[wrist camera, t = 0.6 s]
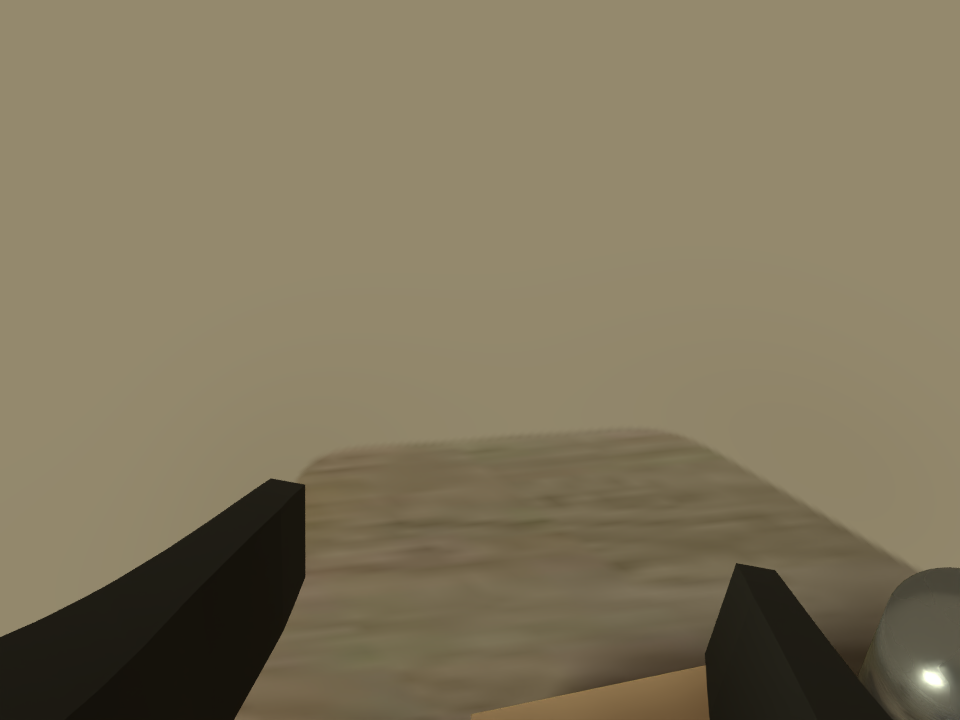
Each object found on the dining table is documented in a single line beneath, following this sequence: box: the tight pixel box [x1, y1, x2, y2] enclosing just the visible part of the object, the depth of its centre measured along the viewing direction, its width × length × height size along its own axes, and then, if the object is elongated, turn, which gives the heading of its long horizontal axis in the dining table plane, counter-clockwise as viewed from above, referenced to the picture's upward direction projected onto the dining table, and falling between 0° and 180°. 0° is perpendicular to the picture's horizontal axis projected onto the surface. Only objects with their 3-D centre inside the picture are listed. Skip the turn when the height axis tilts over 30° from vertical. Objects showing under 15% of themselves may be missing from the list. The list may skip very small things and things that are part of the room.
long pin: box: [857, 568, 960, 720], centre depth 22 cm, size 4×4×9 cm
